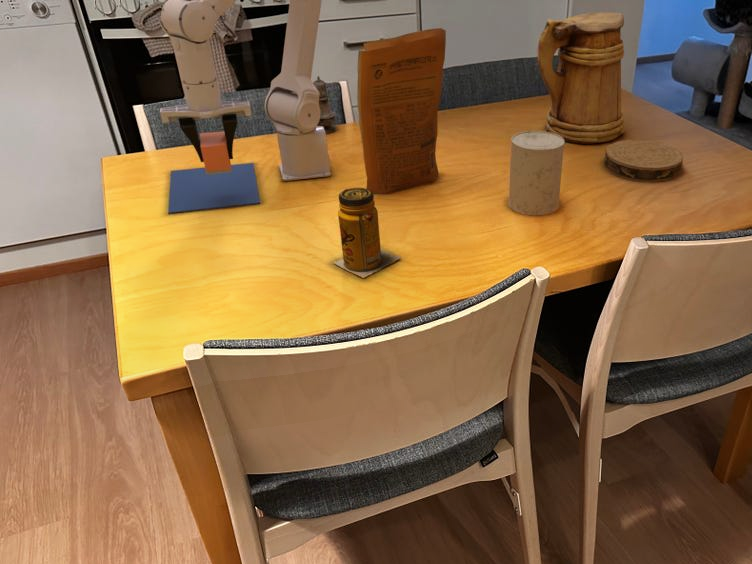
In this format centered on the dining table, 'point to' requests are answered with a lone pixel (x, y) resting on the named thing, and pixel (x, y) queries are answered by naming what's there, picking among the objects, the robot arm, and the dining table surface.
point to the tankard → (584, 76)
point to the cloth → (212, 189)
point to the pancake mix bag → (400, 108)
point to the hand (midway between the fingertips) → (216, 158)
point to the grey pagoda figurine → (324, 107)
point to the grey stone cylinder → (535, 172)
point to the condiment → (361, 233)
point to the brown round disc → (643, 160)
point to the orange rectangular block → (215, 152)
